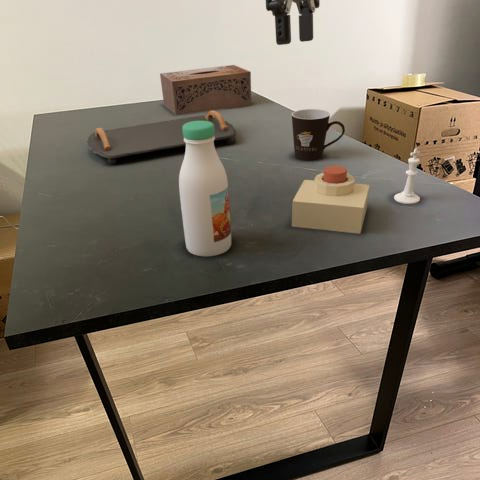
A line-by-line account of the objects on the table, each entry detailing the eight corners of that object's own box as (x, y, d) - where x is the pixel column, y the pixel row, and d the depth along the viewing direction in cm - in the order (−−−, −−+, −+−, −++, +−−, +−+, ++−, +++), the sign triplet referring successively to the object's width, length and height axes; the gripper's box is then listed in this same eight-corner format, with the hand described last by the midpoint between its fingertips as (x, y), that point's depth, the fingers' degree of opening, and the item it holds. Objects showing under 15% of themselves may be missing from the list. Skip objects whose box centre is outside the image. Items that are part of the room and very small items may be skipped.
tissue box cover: (235, 96, 165) (233, 64, 159) (251, 105, 154) (250, 71, 148) (164, 106, 158) (159, 73, 152) (176, 116, 147) (171, 81, 141)
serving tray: (214, 123, 139) (213, 101, 135) (247, 144, 122) (246, 119, 119) (82, 144, 128) (77, 121, 124) (98, 171, 111) (92, 144, 107)
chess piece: (388, 198, 92) (396, 146, 86) (409, 194, 93) (419, 143, 87) (402, 208, 89) (412, 154, 82) (425, 203, 90) (436, 151, 84)
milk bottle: (199, 263, 75) (186, 135, 63) (178, 244, 81) (162, 123, 68) (240, 249, 78) (234, 124, 66) (217, 232, 84) (208, 113, 71)
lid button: (347, 177, 84) (348, 166, 83) (344, 186, 81) (345, 174, 80) (325, 175, 85) (326, 164, 84) (321, 184, 82) (322, 172, 81)
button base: (366, 210, 88) (371, 174, 84) (360, 235, 81) (365, 197, 76) (303, 204, 92) (305, 169, 87) (291, 228, 84) (292, 190, 80)
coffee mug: (282, 158, 113) (283, 114, 107) (306, 149, 117) (308, 107, 111) (320, 170, 106) (323, 123, 100) (344, 160, 110) (348, 115, 104)
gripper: (294, -104, 60) (298, 43, 68) (334, -89, 70) (334, 37, 78) (243, -91, 63) (253, 48, 71) (288, -78, 73) (293, 42, 82)
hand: (295, 42), depth 75 cm, fingers open, 8 cm apart
